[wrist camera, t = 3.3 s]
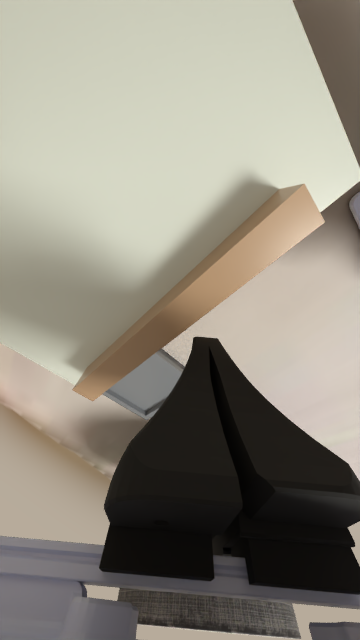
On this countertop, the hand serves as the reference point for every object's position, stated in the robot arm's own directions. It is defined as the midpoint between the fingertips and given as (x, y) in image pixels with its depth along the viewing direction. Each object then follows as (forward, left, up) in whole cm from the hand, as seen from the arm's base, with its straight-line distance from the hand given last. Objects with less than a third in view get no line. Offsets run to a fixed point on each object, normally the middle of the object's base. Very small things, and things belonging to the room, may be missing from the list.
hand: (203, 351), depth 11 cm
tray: (-3, +12, -7) cm, 14 cm away
